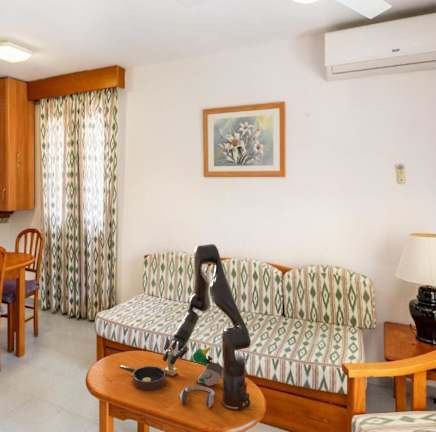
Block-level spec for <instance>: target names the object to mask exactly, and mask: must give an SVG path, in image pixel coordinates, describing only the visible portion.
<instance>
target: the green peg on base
mask: <svg viewBox="0 0 436 432" xmlns="http://www.w3.org/2000/svg"><path fill="white" fill-rule="evenodd" d="M173 356H174V351H172V352H168V359H167V367H165V368H164V369H163V370H164V371H165V372H166V376H167V377H168V376H169V377H172V378H173V377H175V376H176V375H178V368H177V367H174V364H173V365H172V364H171V363H170V361H171V359H172V358H173Z"/></svg>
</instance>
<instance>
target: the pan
mask: <svg viewBox="0 0 436 432" xmlns="http://www.w3.org/2000/svg"><path fill="white" fill-rule="evenodd" d="M146 377H148V378H151V381H150V382H146V381H142V380H143V378H146ZM166 378H167V375H166V372H165V371H164V369H163V368H161V367H159V366H154V365H146V366H141V367H139V368H137V369H135V371H134V372H133V373H132V385H133V386H134V388H136V389H137V390H141V391H145V392H148V391H149V392H150V391H157V390H160V389H162V388H163V387H164V386H165V385H166V381H167V379H166Z"/></svg>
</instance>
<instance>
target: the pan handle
mask: <svg viewBox="0 0 436 432" xmlns="http://www.w3.org/2000/svg"><path fill="white" fill-rule="evenodd" d="M119 369H121V370H124V371H126V372H129V373H132V374H133V372H134V371H135V370H136V369H134V368H131V367H129V366H125V365H123V364H120V365H119Z"/></svg>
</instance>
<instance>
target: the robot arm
mask: <svg viewBox="0 0 436 432" xmlns="http://www.w3.org/2000/svg"><path fill="white" fill-rule="evenodd" d="M220 255H221V254H220V251H219V249H218V247H217V245H216V244H214V243H210V244H201V245H197V246H196V247H195V249H194V255H193V256H194V257H193V258H194V276H195V281H194V289H193V292H194V294H193V295H191V297H190V299H189V303H188V308H187V310H186V313H185V315H184V317H183V319H182V320H181V321H180V323H179V325H178V326H177V329H176V331H175V332H174V334H173V337H172V338H171V339H169V338H166V340H165V343H164V347H163V350H164V351H165V353H164V355H163V357H162V360H163V361H164V362H168V352H174V353H173V358H172V359H171V361H170V363H171V364H172V365H173V366H174V365H175V363H176V361H178V359H182V358H183V357H184V356H185V355H186V354H187V352H188V351H190V348H189V347H188V346H187V343H189V340H190V339H191V336H192V335H193V333H194V331H195V328H196V325H197V323H198V321H199V320H200V315H199V314H198V313H197V312H196V311H195V310H197V311H199V312H202V313H206V312H208V310H209V309H210V307H211V299H210V296H209V291H210V294H211V298H212V300H213V303H214V304H215V306H216V307H217V308H218V309H219V310H220V311H221V312H222V313H223V314H224V315H225V316H226V317H227V318H228V319H229V320H230V322H231V324H232V326H231V327H227V328H224V329H223V330H222V332H221V333H222V334H221V347H222V351H221V352H222V360H223V363H222V364H223V366H222V367H223V376H222V377H223V379H222V385H223V388H222V399H221V400H222V402H221V404H222V406H224V407H225V408H226V409H228V410H231V411H232V410H234V411H242V409H243V408H244V407H245V406H246V408H249V407H250V405H251V399H250V393H249V392H247V391H248V390H247V388H248V383H247V382H246V366H247V365H246V364H247V363H246V361H247V360H246V358H245V356H242V355H241V354H239V353H236V351H239V350H245V349H249V347H250V346H251V344H252V340H251V335H250V332H249V329H248V326H247V325H246V323H245V320H244V319H243V317H242V315H241V312H240V310H239V307H238V305H237V302H236V299H235V296H234V293H233V291H232V288H231V285H230V283H229V280H228V278H227V274H226V272H225V269H224V266H223V263H222V259H221V256H220ZM208 264H210V265H211V264H212V266H213V276H212V278H211V282H210V281H209V278H208V275H207V274H206V273H205V272H204V270H203V265H208Z"/></svg>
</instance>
